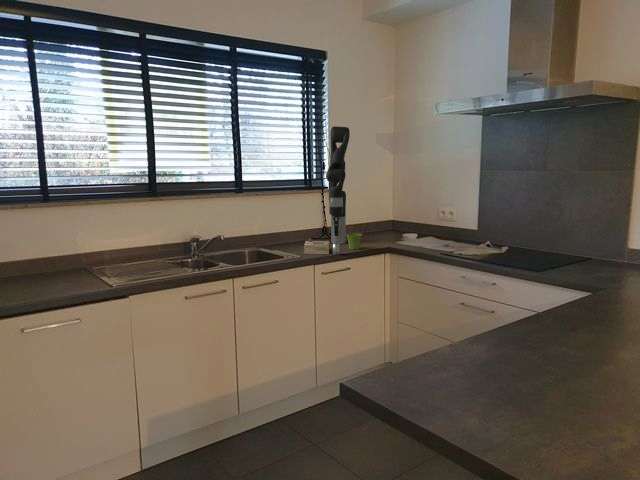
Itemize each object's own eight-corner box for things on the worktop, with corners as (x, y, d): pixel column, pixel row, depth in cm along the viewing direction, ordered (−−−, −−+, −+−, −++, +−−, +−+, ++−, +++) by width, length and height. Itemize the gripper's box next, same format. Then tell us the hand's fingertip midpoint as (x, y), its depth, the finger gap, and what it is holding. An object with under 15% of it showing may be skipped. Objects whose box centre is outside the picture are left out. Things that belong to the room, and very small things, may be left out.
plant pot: (354, 251, 272) (354, 236, 271) (343, 248, 280) (343, 234, 278) (365, 249, 278) (365, 234, 277) (354, 247, 285) (354, 233, 284)
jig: (305, 249, 280) (305, 237, 278) (329, 249, 279) (329, 237, 278) (304, 254, 264) (304, 242, 263) (329, 254, 263) (328, 241, 262)
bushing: (332, 253, 264) (332, 243, 263) (339, 253, 264) (339, 243, 263) (332, 255, 260) (332, 244, 259) (339, 255, 260) (339, 244, 259)
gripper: (329, 204, 265) (329, 233, 268) (329, 206, 251) (329, 236, 253) (342, 204, 265) (342, 233, 267) (343, 206, 251) (343, 236, 253)
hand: (336, 234), depth 260 cm, fingers open, 8 cm apart
